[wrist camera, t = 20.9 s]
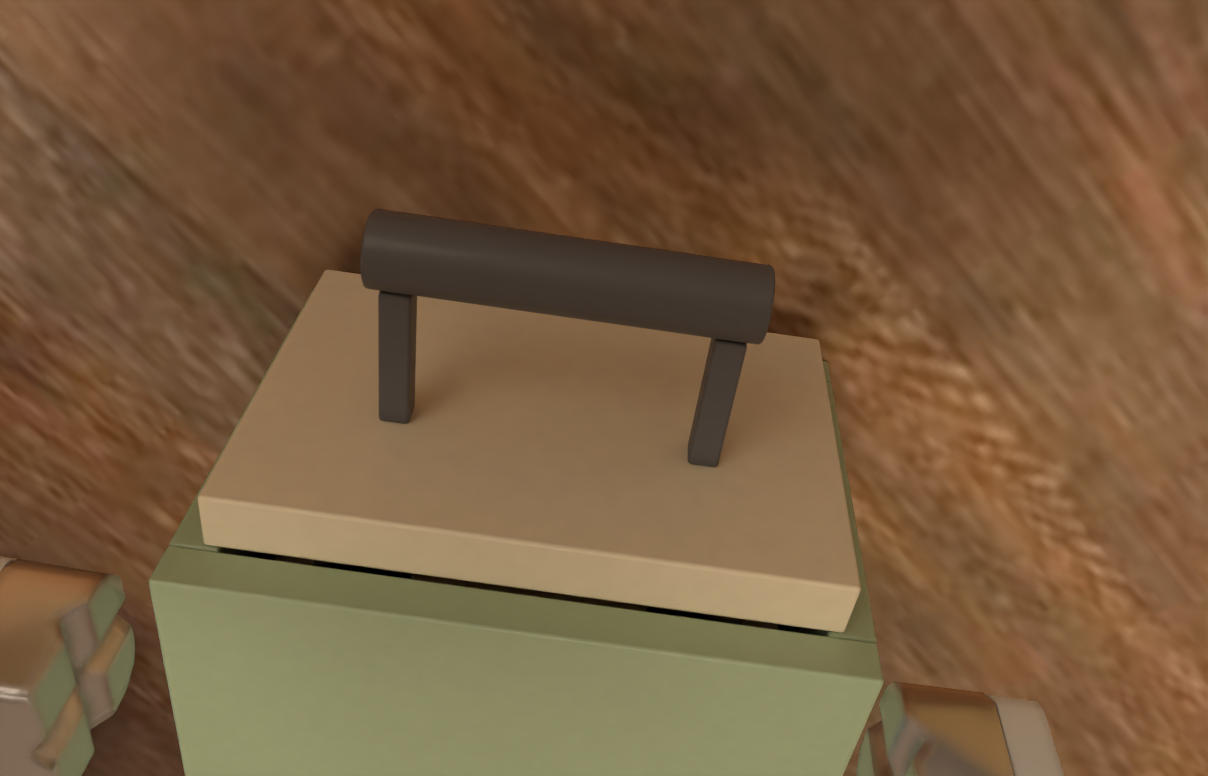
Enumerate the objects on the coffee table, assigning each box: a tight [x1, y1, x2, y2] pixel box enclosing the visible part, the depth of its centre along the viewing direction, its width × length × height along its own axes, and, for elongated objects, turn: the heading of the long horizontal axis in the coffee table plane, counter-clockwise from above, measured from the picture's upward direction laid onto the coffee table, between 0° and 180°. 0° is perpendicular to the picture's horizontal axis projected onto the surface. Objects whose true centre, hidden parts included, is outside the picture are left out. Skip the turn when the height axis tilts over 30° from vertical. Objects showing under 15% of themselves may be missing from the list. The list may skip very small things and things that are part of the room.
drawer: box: [198, 209, 861, 633], centre depth 25 cm, size 19×12×8 cm, turn 173°
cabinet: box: [149, 289, 884, 776], centre depth 27 cm, size 16×13×10 cm
